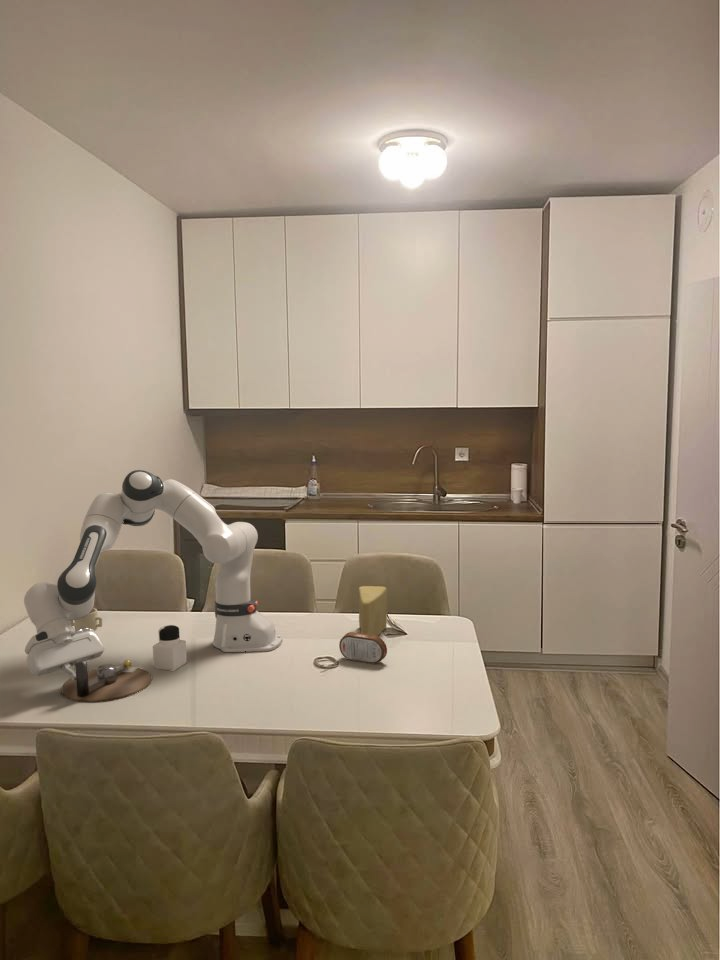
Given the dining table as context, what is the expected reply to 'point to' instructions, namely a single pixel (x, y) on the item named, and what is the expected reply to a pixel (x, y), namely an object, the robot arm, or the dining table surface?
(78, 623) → the character mug
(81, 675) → the crank lever
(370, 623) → the cheese
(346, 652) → the tin
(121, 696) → the stand
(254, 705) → the dining table surface
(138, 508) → the robot arm
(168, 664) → the medicine bottle
